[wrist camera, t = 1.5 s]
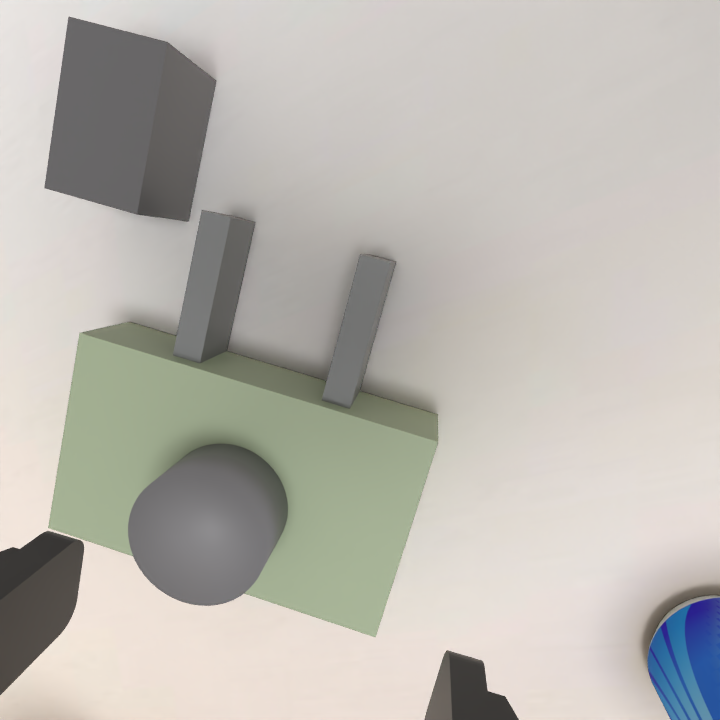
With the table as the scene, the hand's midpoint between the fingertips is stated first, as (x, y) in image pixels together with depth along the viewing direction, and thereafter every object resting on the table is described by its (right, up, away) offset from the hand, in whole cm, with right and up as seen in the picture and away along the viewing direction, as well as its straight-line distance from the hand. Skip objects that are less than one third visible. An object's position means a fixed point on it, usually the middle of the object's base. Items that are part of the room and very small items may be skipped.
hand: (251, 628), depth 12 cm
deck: (-3, +3, +23) cm, 23 cm away
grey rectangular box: (-9, +18, +21) cm, 29 cm away
